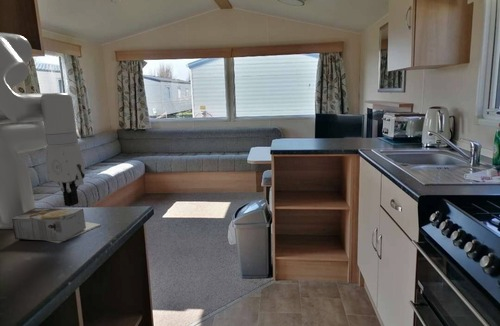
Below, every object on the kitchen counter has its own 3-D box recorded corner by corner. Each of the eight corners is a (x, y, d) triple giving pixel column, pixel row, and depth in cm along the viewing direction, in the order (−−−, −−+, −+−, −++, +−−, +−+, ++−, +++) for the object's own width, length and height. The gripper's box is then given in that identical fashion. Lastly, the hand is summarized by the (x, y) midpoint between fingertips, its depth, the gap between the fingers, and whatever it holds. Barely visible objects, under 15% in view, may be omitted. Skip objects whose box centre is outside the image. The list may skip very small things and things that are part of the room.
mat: (23, 235, 105) (23, 234, 105) (66, 219, 117) (66, 218, 117) (58, 243, 98) (58, 241, 98) (100, 225, 110) (100, 224, 110)
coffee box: (86, 229, 107) (39, 227, 110) (83, 208, 105) (36, 207, 109) (65, 241, 98) (14, 239, 101) (61, 219, 97) (10, 217, 100)
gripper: (31, 141, 98) (42, 206, 102) (68, 142, 92) (78, 211, 95) (57, 137, 105) (66, 198, 109) (93, 138, 98) (101, 203, 102)
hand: (71, 204), depth 102 cm, fingers closed
